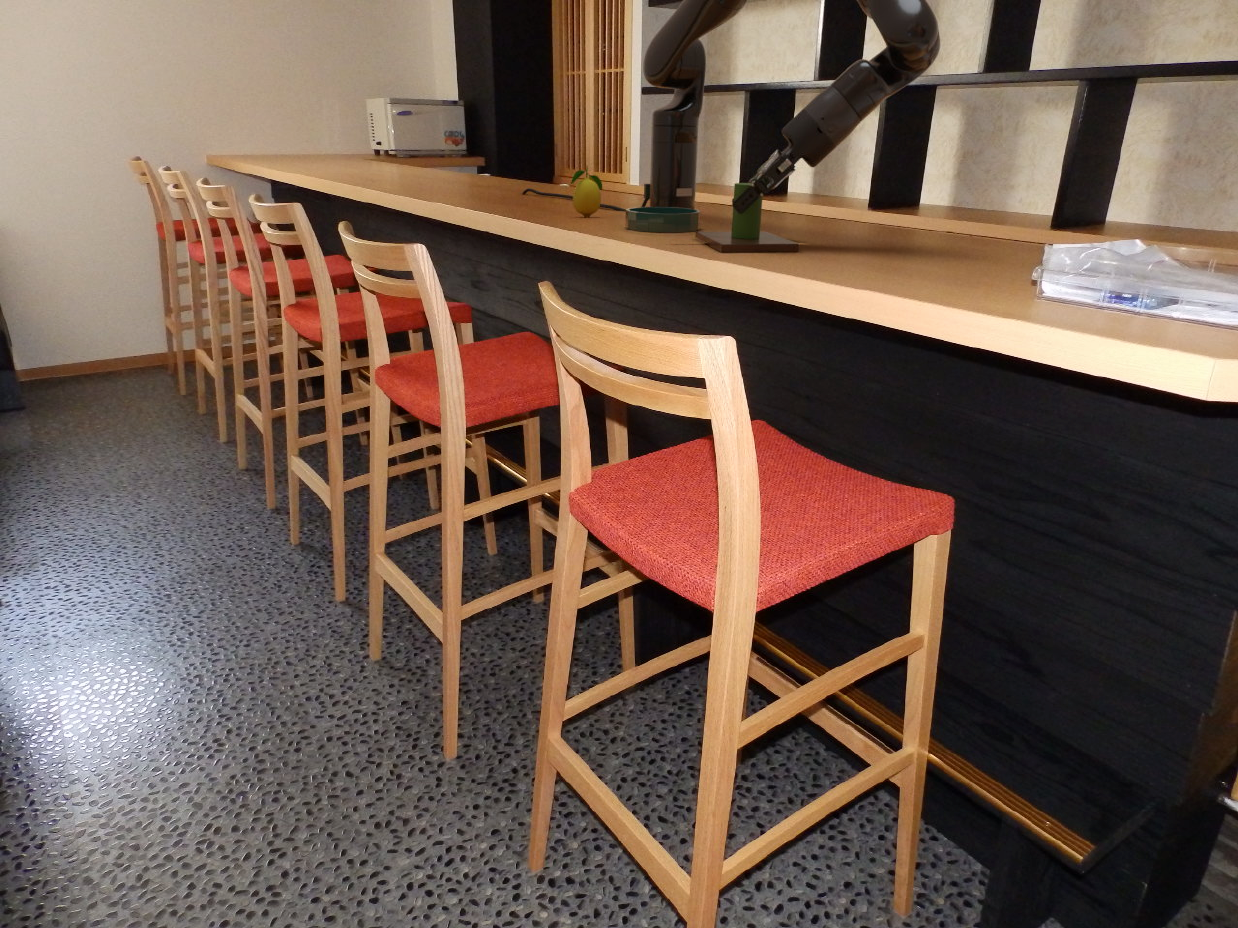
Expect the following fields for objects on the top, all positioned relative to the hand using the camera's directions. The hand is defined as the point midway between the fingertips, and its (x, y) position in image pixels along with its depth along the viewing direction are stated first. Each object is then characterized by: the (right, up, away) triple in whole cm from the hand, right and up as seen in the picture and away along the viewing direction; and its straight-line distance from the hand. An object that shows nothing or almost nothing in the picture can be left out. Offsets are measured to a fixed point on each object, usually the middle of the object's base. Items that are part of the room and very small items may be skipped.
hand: (735, 207), depth 131 cm
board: (+2, -5, +2) cm, 6 cm away
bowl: (-10, +2, +19) cm, 22 cm away
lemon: (-25, +9, +36) cm, 45 cm away
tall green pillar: (+2, -4, +1) cm, 5 cm away
